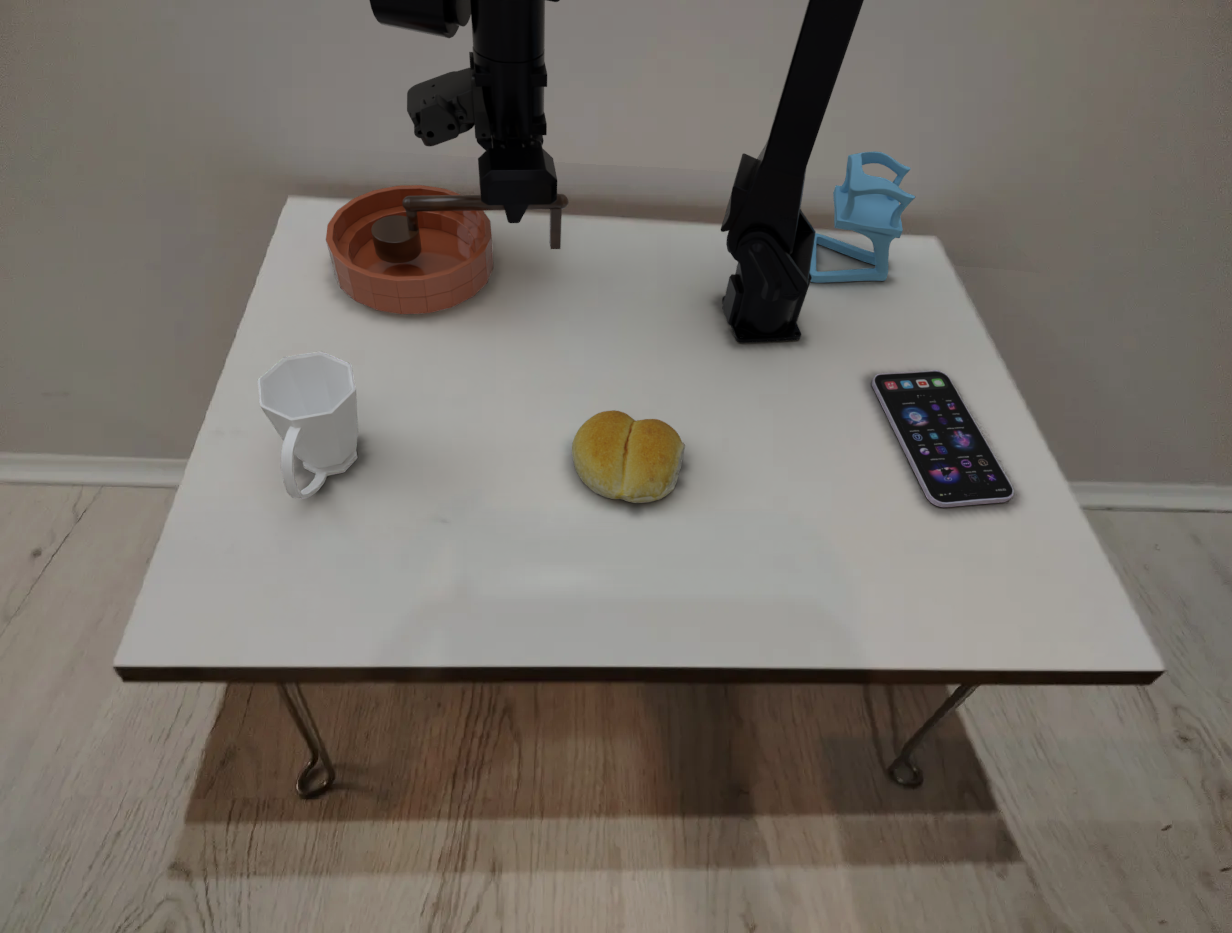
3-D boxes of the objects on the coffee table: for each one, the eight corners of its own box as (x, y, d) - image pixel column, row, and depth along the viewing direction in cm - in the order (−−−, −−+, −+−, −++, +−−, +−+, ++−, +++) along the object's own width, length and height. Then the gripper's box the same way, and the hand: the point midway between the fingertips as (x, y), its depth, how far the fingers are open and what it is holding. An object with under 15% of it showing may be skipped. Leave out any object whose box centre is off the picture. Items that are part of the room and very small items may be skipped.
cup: (385, 426, 64) (368, 354, 58) (351, 526, 58) (329, 458, 52) (299, 418, 64) (274, 345, 58) (256, 517, 58) (222, 447, 51)
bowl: (488, 222, 83) (486, 183, 80) (497, 315, 74) (496, 277, 70) (340, 225, 81) (331, 186, 77) (331, 322, 71) (320, 283, 68)
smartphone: (945, 369, 73) (1019, 497, 64) (942, 373, 73) (1015, 501, 64) (869, 373, 72) (934, 504, 63) (867, 378, 72) (931, 509, 63)
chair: (887, 295, 81) (933, 191, 71) (808, 282, 81) (843, 176, 72) (883, 251, 86) (925, 148, 76) (808, 239, 86) (841, 135, 77)
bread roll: (585, 417, 67) (588, 384, 64) (687, 442, 66) (695, 410, 63) (557, 491, 61) (558, 458, 58) (667, 519, 61) (674, 488, 57)
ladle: (564, 232, 79) (566, 181, 75) (569, 259, 77) (571, 208, 72) (375, 236, 76) (366, 184, 72) (374, 264, 74) (364, 211, 69)
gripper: (406, -3, 67) (426, 165, 79) (404, 104, 55) (427, 281, 68) (536, 0, 69) (536, 164, 81) (560, 104, 57) (555, 277, 69)
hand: (513, 217), depth 75 cm, fingers closed on ladle
